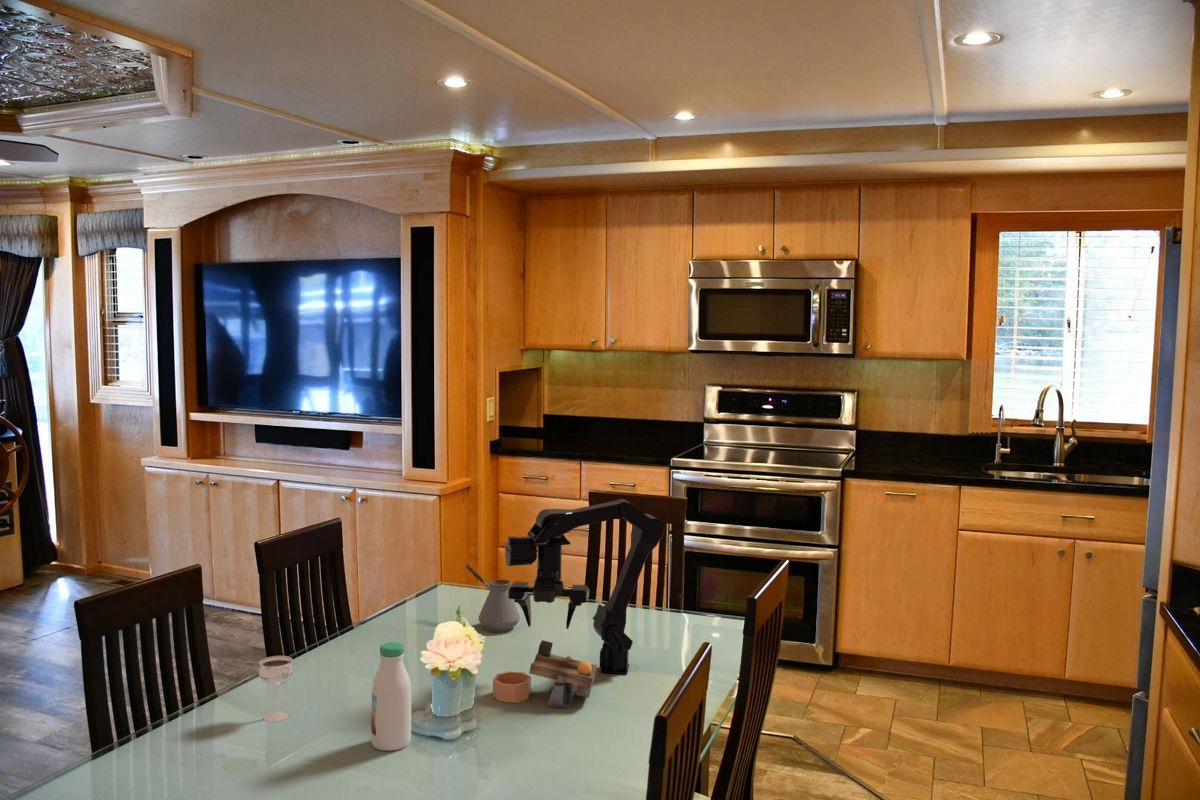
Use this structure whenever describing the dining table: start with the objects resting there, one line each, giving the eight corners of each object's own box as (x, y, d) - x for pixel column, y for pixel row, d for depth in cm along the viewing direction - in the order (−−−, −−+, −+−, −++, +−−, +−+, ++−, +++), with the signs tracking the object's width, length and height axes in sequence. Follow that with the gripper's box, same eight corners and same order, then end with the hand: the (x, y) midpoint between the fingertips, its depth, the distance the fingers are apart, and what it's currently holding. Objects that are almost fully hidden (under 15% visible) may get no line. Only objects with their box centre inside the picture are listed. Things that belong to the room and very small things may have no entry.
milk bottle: (418, 738, 185) (419, 641, 183) (397, 754, 178) (398, 654, 176) (385, 732, 187) (385, 636, 186) (363, 748, 180) (364, 648, 179)
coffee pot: (528, 628, 255) (529, 575, 254) (496, 637, 247) (497, 582, 246) (480, 610, 270) (480, 560, 269) (448, 618, 262) (449, 567, 261)
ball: (590, 674, 207) (594, 661, 207) (589, 679, 204) (592, 666, 204) (577, 670, 207) (580, 657, 207) (575, 676, 204) (578, 662, 204)
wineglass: (261, 725, 189) (261, 669, 188) (256, 713, 195) (256, 658, 194) (295, 720, 192) (295, 664, 191) (290, 708, 198) (290, 653, 197)
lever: (595, 677, 215) (600, 650, 214) (587, 701, 201) (593, 672, 200) (537, 663, 216) (542, 636, 216) (525, 686, 202) (531, 658, 202)
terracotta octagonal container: (532, 689, 211) (533, 672, 211) (525, 703, 203) (526, 686, 203) (498, 687, 212) (498, 670, 212) (490, 701, 204) (490, 683, 204)
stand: (578, 683, 216) (579, 662, 216) (569, 709, 201) (569, 686, 201) (558, 681, 217) (558, 660, 216) (547, 707, 202) (547, 684, 201)
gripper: (503, 569, 211) (502, 636, 212) (583, 574, 209) (582, 640, 210) (513, 558, 222) (513, 621, 223) (590, 561, 220) (588, 625, 221)
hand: (548, 627), depth 219 cm, fingers open, 9 cm apart
